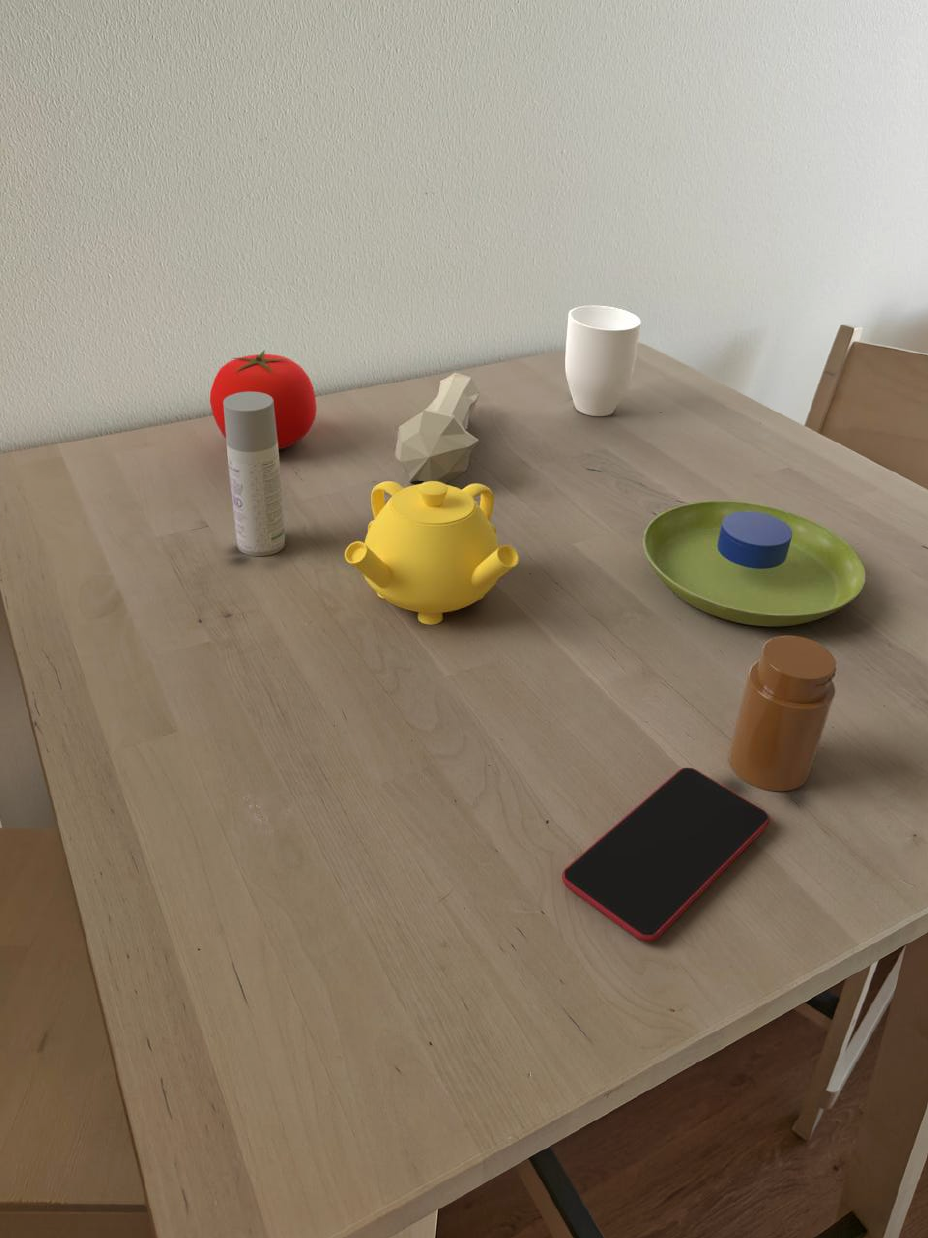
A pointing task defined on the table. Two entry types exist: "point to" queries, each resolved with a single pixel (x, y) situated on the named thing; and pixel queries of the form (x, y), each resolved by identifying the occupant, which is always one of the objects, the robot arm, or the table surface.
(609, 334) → the mug
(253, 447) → the container
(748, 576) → the saucer
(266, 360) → the tomato
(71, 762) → the table surface
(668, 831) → the smartphone
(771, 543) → the jar lid
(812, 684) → the jar
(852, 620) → the table surface
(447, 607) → the teapot
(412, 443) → the faceted club
